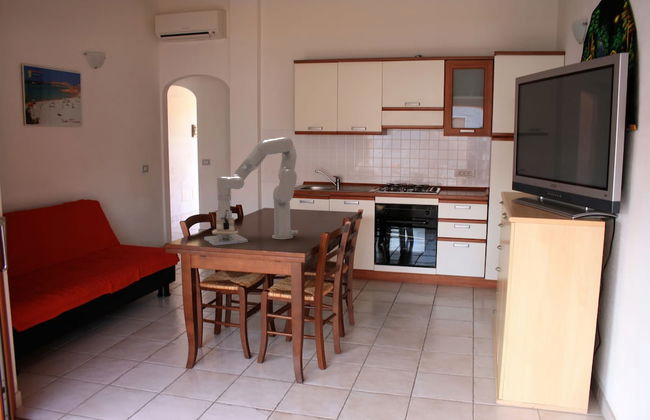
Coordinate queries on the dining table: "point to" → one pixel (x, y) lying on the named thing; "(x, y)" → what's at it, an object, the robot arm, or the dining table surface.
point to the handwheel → (226, 232)
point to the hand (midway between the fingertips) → (224, 228)
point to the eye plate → (225, 239)
